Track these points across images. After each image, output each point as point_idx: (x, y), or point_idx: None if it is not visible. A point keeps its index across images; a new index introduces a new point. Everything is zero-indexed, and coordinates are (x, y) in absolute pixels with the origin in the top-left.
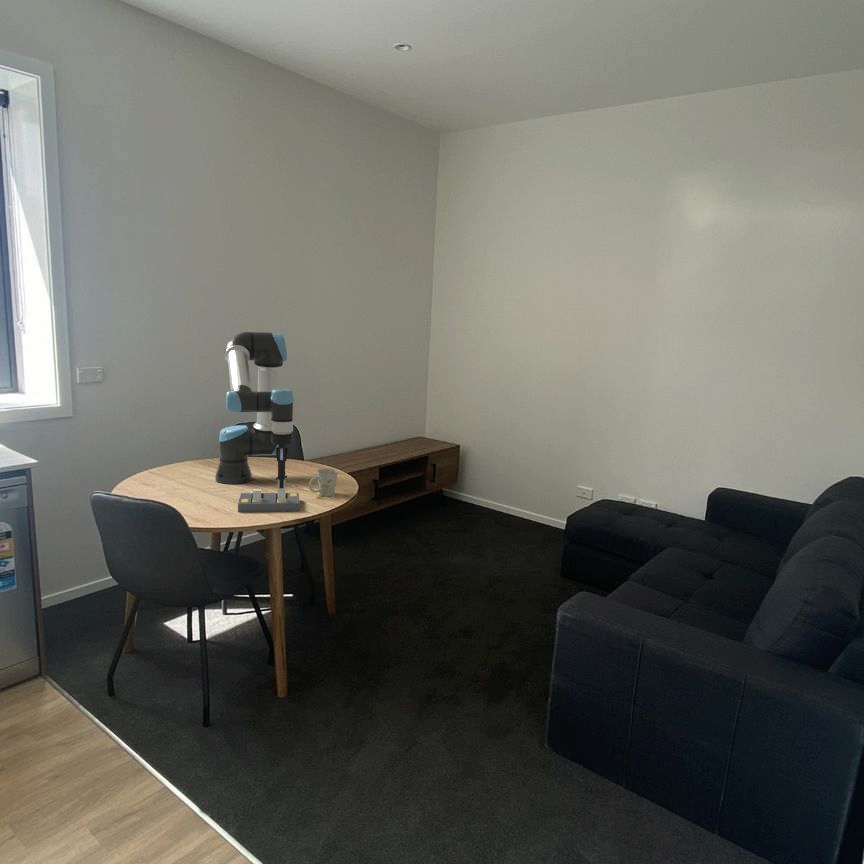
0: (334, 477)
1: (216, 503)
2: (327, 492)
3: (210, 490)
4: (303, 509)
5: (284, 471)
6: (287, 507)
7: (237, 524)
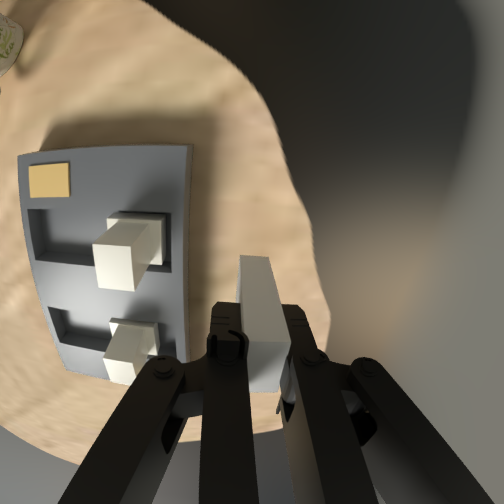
0: None
1: (115, 401)
2: (14, 38)
3: (30, 390)
4: (170, 122)
5: (424, 423)
6: (187, 206)
7: None
